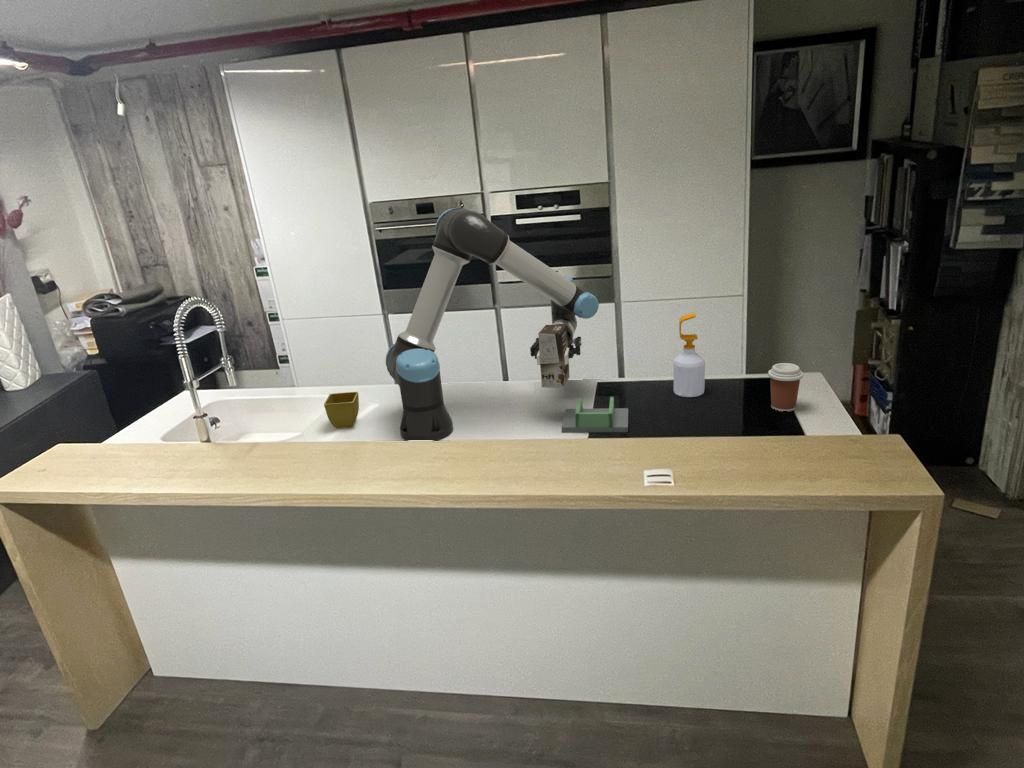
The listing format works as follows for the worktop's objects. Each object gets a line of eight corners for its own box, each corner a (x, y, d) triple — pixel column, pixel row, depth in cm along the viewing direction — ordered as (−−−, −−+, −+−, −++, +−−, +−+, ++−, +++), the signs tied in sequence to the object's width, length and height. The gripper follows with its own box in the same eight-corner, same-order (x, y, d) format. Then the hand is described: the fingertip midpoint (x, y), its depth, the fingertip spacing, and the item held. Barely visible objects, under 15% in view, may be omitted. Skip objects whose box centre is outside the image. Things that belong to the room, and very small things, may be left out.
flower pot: (363, 418, 208) (358, 390, 205) (358, 429, 200) (353, 401, 197) (334, 420, 208) (329, 393, 205) (328, 432, 200) (323, 404, 197)
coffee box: (563, 388, 189) (560, 333, 183) (541, 387, 191) (537, 333, 185) (570, 377, 197) (567, 323, 191) (549, 376, 199) (545, 323, 193)
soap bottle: (705, 397, 201) (706, 317, 192) (673, 397, 203) (673, 318, 194) (703, 386, 209) (704, 309, 200) (673, 387, 211) (673, 310, 202)
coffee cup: (766, 412, 188) (769, 372, 183) (765, 400, 196) (767, 361, 191) (802, 414, 185) (805, 373, 181) (799, 401, 193) (802, 361, 189)
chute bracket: (561, 432, 187) (560, 414, 185) (566, 413, 199) (565, 396, 197) (627, 432, 183) (627, 413, 181) (628, 413, 195) (628, 395, 193)
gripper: (594, 345, 206) (588, 372, 185) (529, 347, 210) (517, 373, 189) (592, 322, 204) (587, 346, 183) (527, 324, 208) (515, 348, 187)
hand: (552, 360), depth 186 cm, fingers closed on coffee box, 7 cm apart
